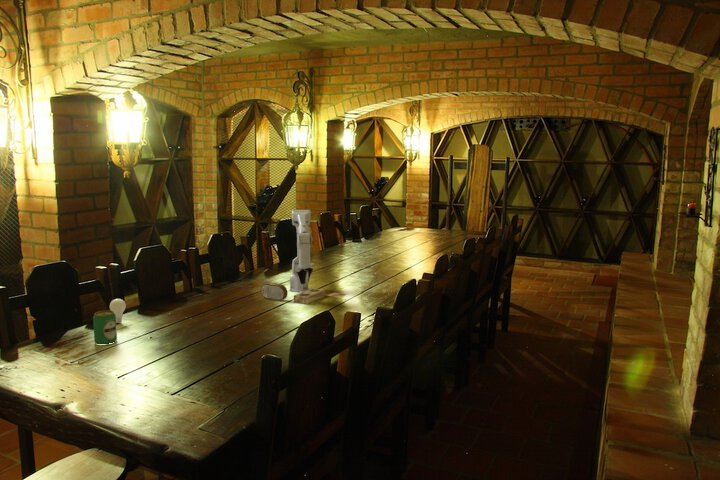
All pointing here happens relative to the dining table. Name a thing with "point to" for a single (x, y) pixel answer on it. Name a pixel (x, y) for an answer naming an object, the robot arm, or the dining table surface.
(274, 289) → the tin
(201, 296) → the dining table surface
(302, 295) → the wooden rectangular frame
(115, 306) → the lightbulb
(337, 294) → the cork coaster
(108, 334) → the beverage can
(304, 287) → the pin
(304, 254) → the robot arm
